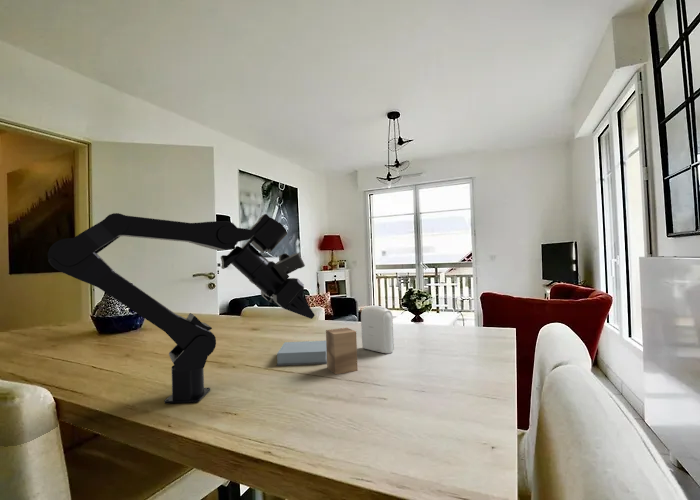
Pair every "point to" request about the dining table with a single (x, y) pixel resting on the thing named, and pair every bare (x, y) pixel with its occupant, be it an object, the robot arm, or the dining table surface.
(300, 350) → the plinth
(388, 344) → the photo printer
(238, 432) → the dining table surface
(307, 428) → the dining table surface
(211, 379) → the dining table surface
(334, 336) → the walnut block
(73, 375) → the dining table surface
